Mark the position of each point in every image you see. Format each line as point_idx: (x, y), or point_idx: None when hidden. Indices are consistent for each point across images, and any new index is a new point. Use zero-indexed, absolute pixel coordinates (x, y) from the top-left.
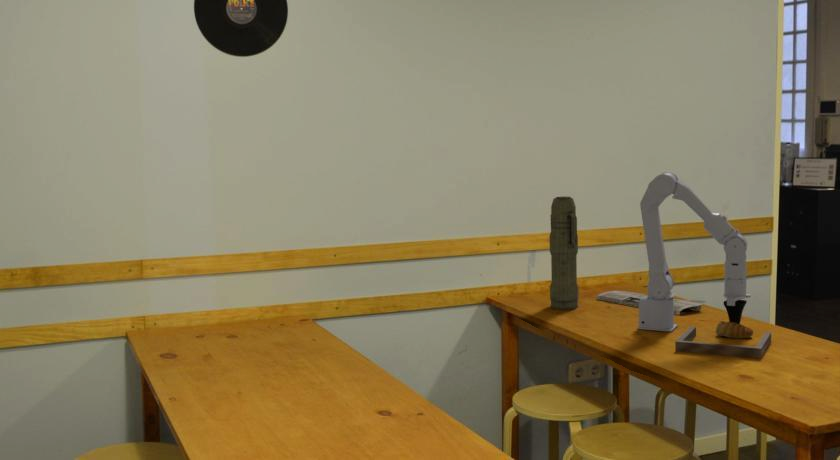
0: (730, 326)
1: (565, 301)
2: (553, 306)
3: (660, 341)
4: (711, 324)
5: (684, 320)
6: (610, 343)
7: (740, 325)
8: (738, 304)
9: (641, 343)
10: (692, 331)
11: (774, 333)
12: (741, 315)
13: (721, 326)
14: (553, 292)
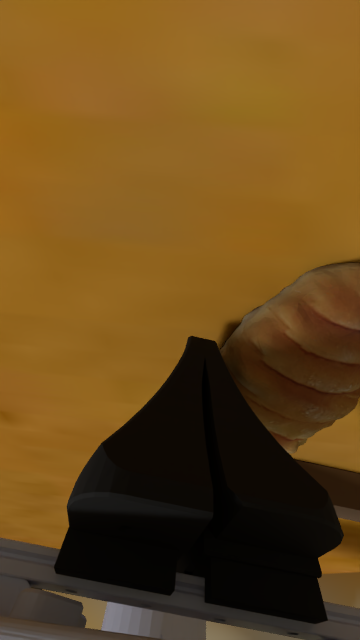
0: (347, 412)
1: (38, 588)
2: None
3: (340, 518)
4: (60, 397)
5: (36, 452)
6: (340, 568)
7: (328, 363)
8: (323, 554)
9: (355, 542)
10: (346, 502)
11: (199, 46)
12: (179, 375)
13: (308, 436)
14: None
